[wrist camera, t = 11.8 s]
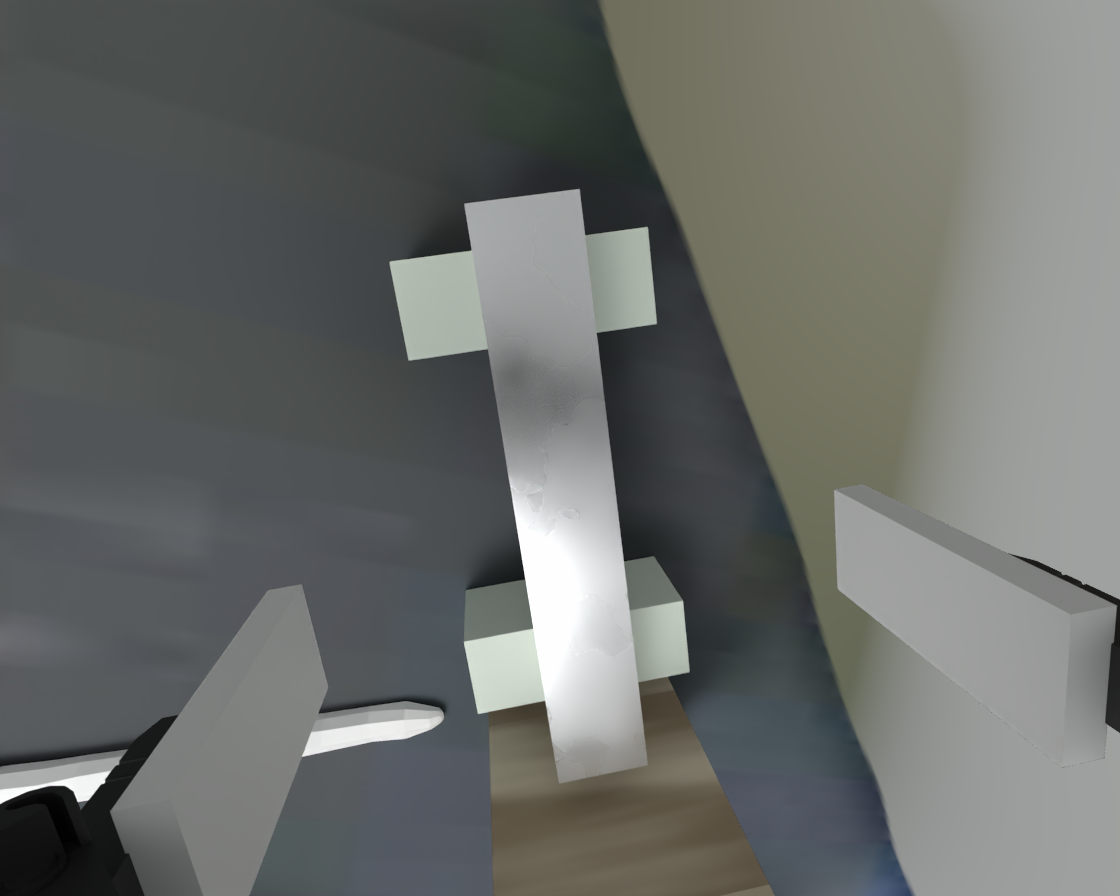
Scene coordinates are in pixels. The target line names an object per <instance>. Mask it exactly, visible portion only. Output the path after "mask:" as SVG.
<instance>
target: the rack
mask: <svg viewBox="0 0 1120 896" xmlns="http://www.w3.org/2000/svg"><path fill="white" fill-rule="evenodd" d="M638 685H639V694H640V702H641V711H642V719H643V728H644V736H645V744H646V753H647V761H648V765H647V766H642V767H637V768H632V769H627V770H623V771H618V772H613V773H608V774H604V775H599V776H594V777H589V778H585V779H580V780H575V781H570V782H565V783H561V784H559V781H558V775H557V769H556V763H555V757H554V751H553V745H552V739H551V732H550V726H549V720H548V714H547V708H546V702H545V701H541V702H536V703H531V704H526V705H521V706H516V707H511V708H506V709H501V710H496V711H491V712H489V748H490V785H491V822H492V860H493V896H775V895H774V893H773V891H772V889H771V887H770V885H769V883H768V881H767V879H766V877H765V875H764V873H763V871H762V869H761V867H760V865H759V863H758V861H757V859H756V857H755V854H754V852H753V850H752V848H751V846H750V844H749V842H748V840H747V838H746V836H745V834H744V832H743V830H742V828H741V826H740V824H739V822H738V820H737V818H736V816H735V814H734V811H733V809H732V807H731V805H730V803H729V801H728V799H727V797H726V795H725V793H724V791H723V789H722V787H721V785H720V783H719V781H718V779H717V777H716V775H715V773H714V771H713V769H712V766H711V764H710V762H709V760H708V758H707V756H706V754H705V752H704V750H703V748H702V746H701V744H700V742H699V740H698V738H697V736H696V734H695V732H694V730H693V728H692V726H691V724H690V721H689V719H688V717H687V715H686V713H685V711H684V709H683V707H682V705H681V703H680V701H679V699H678V697H677V695H676V693H675V691H674V689H673V687H672V685H671V683H670V681H669V678H668V677H662V678H657V679H652V680H647V681H642V682H638Z"/></svg>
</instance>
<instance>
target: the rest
mask: <svg viewBox="0 0 1120 896" xmlns="http://www.w3.org/2000/svg"><path fill="white" fill-rule="evenodd" d="M585 239H586V247H587V256H588V264H589V273H590V281H591V289H592V298H593V306H594V315H595V323H596V332H597V333H599V332H606V331H612V330H619V329H626V328H633V327H639V326H646V325H653V324H657V320H656V309H655V298H654V288H653V277H652V267H651V256H650V245H649V235H648V227H643V228H636V229H628V230H621V231H614V232H606V233H599V234H591V235H585ZM389 263H390V268H391V273H392V278H393V283H394V288H395V293H396V298H397V304H398V309H399V314H400V319H401V324H402V329H403V334H404V339H405V344H406V349H407V354H408V360H409V361H410V360H417V359H424V358H431V357H437V356H444V355H451V354H457V353H464V352H471V351H478V350H484V349H488V347H487V341H486V335H485V329H484V323H483V316H482V310H481V304H480V298H479V292H478V286H477V280H476V274H475V267H474V261H473V255H472V251H465V252H458V253H450V254H443V255H436V256H428V257H421V258H413V259H406V260H399V261H391V262H389ZM624 568H625V576H626V584H627V593H628V601H629V610H630V618H631V626H632V635H633V643H634V652H635V660H636V669H637V677H638V682H642V681H647V680H652V679H657V678H662V677H668V676H673V675H678V674H683V673H688V672H690V670H689V659H688V649H687V638H686V628H685V617H684V606H683V600H682V598H681V597H680V595H679V594H678V592H677V591H676V589H675V588H674V586H673V585H672V583H671V582H670V580H669V579H668V577H667V576H666V574H665V573H664V571H663V569H662V568H661V566H660V565H659V563H658V562H657V560H656V559H655V557H654V556H652V557H646V558H641V559H635V560H630V561H624ZM464 645H465V650H466V655H467V660H468V665H469V670H470V675H471V681H472V686H473V691H474V696H475V701H476V706H477V711H478V714H481V713H486V712H491V711H496V710H501V709H506V708H511V707H516V706H521V705H526V704H531V703H536V702H541V701H545V696H544V690H543V684H542V677H541V671H540V665H539V659H538V653H537V647H536V641H535V635H534V629H533V622H532V616H531V610H530V604H529V598H528V592H527V586H526V580H519V581H514V582H508V583H503V584H497V585H492V586H486V587H481V588H475V589H470V590H466V599H465V625H464Z"/></svg>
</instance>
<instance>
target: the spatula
mask: <svg viewBox="0 0 1120 896" xmlns="http://www.w3.org/2000/svg"><path fill="white" fill-rule="evenodd" d="M443 719H444V714H443V711H442V710H441V709H440V708H438V707H434V706H429V705H424V704H419V703H414V702H408V701H403V702H396V703H389V704H382V705H375V706H368V707H361V708H355V709H348V710H341V711H334V712H328V713H320V714H318V716H317V718H316V721H315V724H314V726H313V729H312V731H311V734H310V737H309V739H308V742H307V745H306V747H305V750H304V753H303V755H302V757H303V756H308V755H312V754H317V753H321V752H326V751H331V750H336V749H340V748H345V747H350V746H354V745H359V744H364V743H369V742H374V741H385V740H396V739H406V738H409V737H412V736H414V735H417V734H420V733H422V732H425V731H428V730H430V729H433V728H434V727H435V726H437V725H438V724H440V723H441V722H442V721H443ZM127 750H128V749H126V750H119V751H112V752H105V753H98V754H90V755H84V756H77V757H71V758H64V759H58V760H50V761H41V762H33V763H24V764H16V765H8V766H2V767H0V804H1V803H3V802H5V801H7V800H9V799H12V798H14V797H16V796H19V795H21V794H23V793H25V792H28V791H31V790H35V789H39V788H43V787H47V786H66V787H68V788H69V789H71V790H72V791H74V794H75V796H76V799H77V802H80V801H86V800H89V799H90V798H91V797H92V795H93V794H94V793H95V792H96V790H97V789H98V788H99V786H100V785H101V784H104V783H105V779H106V777H107V776H108V775H109V773H110V772H111V771H112V770H113V768H114V767H115V766H116V765H119V760H120V759H121V758H122V757H123V755H124V754H125V753H126V751H127Z"/></svg>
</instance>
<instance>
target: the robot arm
mask: <svg viewBox="0 0 1120 896" xmlns="http://www.w3.org/2000/svg"><path fill="white" fill-rule="evenodd" d="M834 502H835V503H834V504H835V532H836V560H837V588H838V590H839V591H841V592H842V593H843V594H845V595H846V596H847V597H848V598H849V599H851V600H852V601H853V602H854V603H856V604H857V605H858V606H859V607H861V608H862V609H863V610H864V611H866V612H867V613H868V614H869V615H871V616H872V617H873V618H874V619H876V620H877V621H878V622H880V623H881V624H882V625H883V626H884V627H886V628H887V629H888V630H890V631H891V632H892V633H893V634H894V635H896V636H897V637H898V638H900V639H901V640H902V641H903V642H905V643H906V644H907V645H908V646H909V647H911V648H912V649H913V650H914V651H916V652H917V653H918V654H919V655H921V656H922V657H923V658H925V659H926V660H927V661H928V662H930V663H931V664H932V665H934V666H935V667H936V668H937V669H938V670H940V671H941V672H942V673H943V674H945V675H946V676H947V677H948V678H950V679H951V680H952V681H953V682H955V683H956V684H957V685H958V686H960V687H961V688H962V689H964V690H965V691H966V692H967V693H968V694H970V695H971V696H972V697H973V698H975V699H976V700H977V701H978V702H980V703H981V704H982V705H983V706H985V707H986V708H987V709H988V710H990V711H991V712H992V713H993V714H995V715H996V716H997V717H999V718H1000V719H1001V720H1002V721H1003V722H1005V723H1006V724H1007V725H1008V726H1010V727H1011V728H1012V729H1013V730H1015V731H1016V732H1017V733H1018V734H1020V735H1021V736H1022V737H1024V738H1025V739H1026V740H1027V741H1028V742H1030V743H1031V744H1032V745H1033V746H1035V747H1036V748H1037V749H1038V750H1040V751H1041V752H1042V753H1043V754H1045V755H1046V756H1047V757H1049V758H1050V759H1051V760H1052V761H1054V762H1055V763H1056V764H1057V765H1058V766H1060V767H1061V768H1064V767H1069V766H1073V765H1077V764H1082V763H1086V762H1090V761H1095V760H1099V759H1104V758H1105V746H1106V734H1107V724H1108V725H1109V726H1111V727H1112V728H1113V729H1115V730H1116V731H1118V732H1119V733H1120V600H1119V599H1117V598H1115V597H1113V596H1111V595H1109V594H1107V593H1104V592H1102V591H1100V590H1098V589H1096V588H1094V587H1091V586H1089V585H1087V584H1086V585H1082V583H1081V581H1078V580H1076V579H1074V578H1072V577H1070V576H1068V575H1062V574H1061V572H1059V571H1057V570H1055V569H1053V568H1051V567H1049V566H1046V565H1044V564H1042V563H1040V562H1038V561H1034V560H1031V559H1027V558H1023V557H1019V556H1016V555H1012V554H1008V553H1006V552H1004V551H1001V550H999V549H997V548H995V547H993V546H991V545H989V544H987V543H985V542H983V541H980V540H978V539H976V538H974V537H972V536H970V535H968V534H966V533H963V532H962V531H960V530H957V529H955V528H953V527H951V526H949V525H947V524H945V523H943V522H941V521H939V520H936V519H934V518H932V517H930V516H928V515H926V514H924V513H922V512H920V511H918V510H915V509H913V508H911V507H909V506H907V505H905V504H903V503H901V502H898V501H897V500H894V499H892V498H890V497H888V496H886V495H884V494H882V493H880V492H878V491H876V490H873V489H871V488H869V487H867V486H865V485H862V484H861V485H856V486H850V487H845V488H839V489H834ZM327 689H328V685H327V681H326V677H325V673H324V669H323V666H322V662H321V658H320V654H319V650H318V646H317V642H316V638H315V634H314V630H313V626H312V623H311V619H310V615H309V611H308V607H307V603H306V599H305V595H304V591H303V587H302V584H301V585H295V586H289V587H284V588H278V589H273V590H268V591H267V592H266V594H265V595H264V597H263V598H262V599H261V601H260V602H259V604H258V605H257V606H256V608H255V609H254V611H253V612H252V613H251V615H250V616H249V618H248V619H247V620H246V622H245V623H244V625H243V626H242V627H241V629H240V630H239V632H238V633H237V634H236V636H235V637H234V639H233V640H232V641H231V643H230V644H229V646H228V647H227V648H226V650H225V651H224V653H223V654H222V655H221V657H220V658H219V660H218V661H217V662H216V664H215V665H214V667H213V668H212V669H211V671H210V672H209V674H208V675H207V676H206V678H205V679H204V681H203V682H202V683H201V685H200V686H199V688H198V689H197V690H196V692H195V693H194V695H193V696H192V697H191V699H190V700H189V702H188V703H187V704H186V706H185V707H184V709H183V710H182V711H181V713H180V714H179V715H176V716H171V717H166V718H162V719H161V720H159V721H158V722H157V723H156V724H154V725H153V726H152V727H151V728H149V729H148V730H147V731H146V732H144V733H143V734H142V735H141V736H139V737H138V738H137V739H136V740H135V741H134V742H133V744H132V745H131V746H130V748H129V749H128V750H127V751H126V753H125V754H124V755H123V757H122V758H121V759H120V760H119V765H116V766H115V767H114V768H113V770H112V771H111V772H110V773H109V775H108V776H107V777H106V779H105V783H104V784H101V785H100V786H99V788H98V789H97V790H96V792H95V793H94V794H93V795H92V797H91V798H90V799H89V801H88V802H87V803H86V804H85V806H84V807H83V808H82V810H80V807H79V804H78V802H77V799H76V796H75V794H74V791H72V790H71V789H69V788H68V787H66V786H47V787H43V788H39V789H35V790H31V791H28V792H25V793H23V794H21V795H19V796H16V797H14V798H12V799H9V800H7V801H5V802H3V803H1V804H0V896H249V895H250V892H251V890H252V887H253V884H254V882H255V879H256V876H257V874H258V871H259V868H260V866H261V863H262V861H263V858H264V855H265V853H266V850H267V847H268V845H269V842H270V839H271V837H272V834H273V832H274V829H275V826H276V824H277V821H278V818H279V816H280V813H281V811H282V808H283V805H284V803H285V800H286V797H287V795H288V792H289V789H290V787H291V784H292V782H293V779H294V776H295V774H296V771H297V768H298V766H299V763H300V760H301V758H302V755H303V753H304V750H305V747H306V745H307V742H308V739H309V737H310V734H311V731H312V729H313V726H314V724H315V721H316V718H317V716H318V713H319V710H320V708H321V705H322V702H323V700H324V697H325V695H326V692H327Z"/></svg>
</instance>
